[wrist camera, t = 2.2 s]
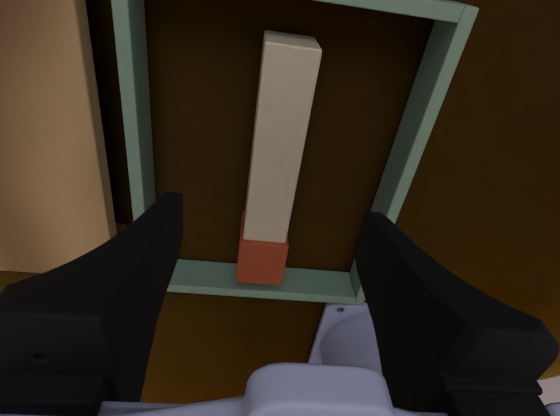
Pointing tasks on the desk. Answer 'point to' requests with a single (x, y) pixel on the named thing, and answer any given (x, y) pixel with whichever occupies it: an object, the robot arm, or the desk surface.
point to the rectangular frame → (396, 177)
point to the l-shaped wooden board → (50, 138)
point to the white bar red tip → (276, 153)
